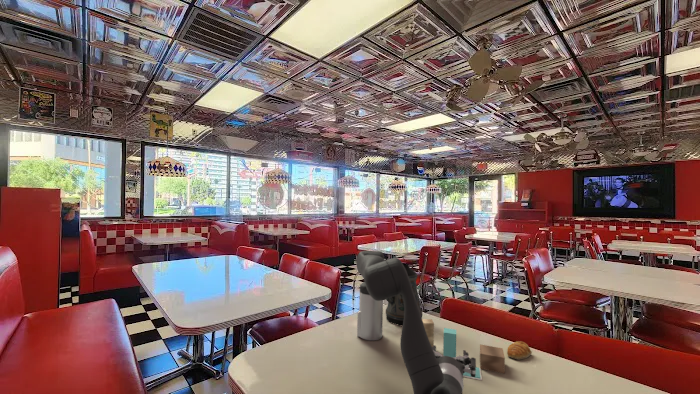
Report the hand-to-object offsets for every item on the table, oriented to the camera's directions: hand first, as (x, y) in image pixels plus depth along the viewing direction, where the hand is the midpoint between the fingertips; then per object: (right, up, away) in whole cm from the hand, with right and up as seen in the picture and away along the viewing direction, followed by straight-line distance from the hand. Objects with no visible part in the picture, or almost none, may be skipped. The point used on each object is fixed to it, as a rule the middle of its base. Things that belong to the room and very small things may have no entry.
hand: (449, 351), depth 92 cm
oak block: (-2, -9, +19) cm, 21 cm away
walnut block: (+16, -9, +8) cm, 21 cm away
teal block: (+4, -9, +11) cm, 14 cm away
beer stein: (-6, -9, +46) cm, 47 cm away
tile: (+8, -9, +4) cm, 12 cm away
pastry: (+30, -10, +16) cm, 35 cm away
